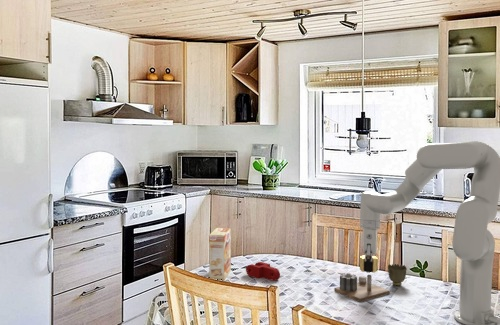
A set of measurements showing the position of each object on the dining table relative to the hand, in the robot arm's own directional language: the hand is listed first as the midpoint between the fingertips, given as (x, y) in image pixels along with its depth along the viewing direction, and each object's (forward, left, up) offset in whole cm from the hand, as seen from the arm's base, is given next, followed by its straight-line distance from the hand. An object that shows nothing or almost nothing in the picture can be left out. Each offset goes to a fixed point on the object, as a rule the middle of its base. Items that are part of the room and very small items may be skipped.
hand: (368, 268), depth 185 cm
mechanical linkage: (+39, +23, -10) cm, 46 cm away
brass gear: (0, 0, -1) cm, 1 cm away
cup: (0, -17, -10) cm, 19 cm away
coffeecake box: (+52, +37, -10) cm, 65 cm away
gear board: (+2, +1, -10) cm, 10 cm away
